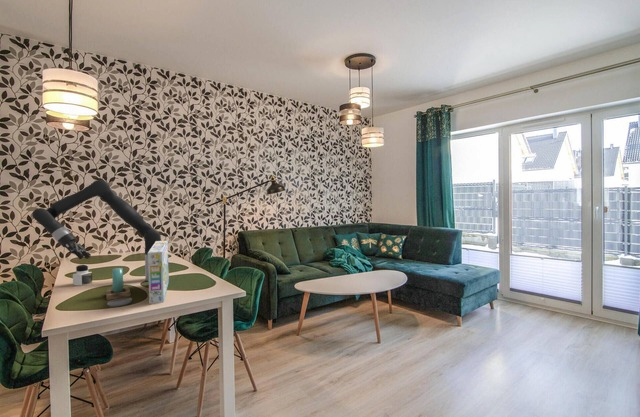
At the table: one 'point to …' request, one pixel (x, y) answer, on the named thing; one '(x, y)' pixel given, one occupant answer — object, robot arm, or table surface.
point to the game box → (158, 271)
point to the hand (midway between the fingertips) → (85, 257)
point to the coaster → (119, 302)
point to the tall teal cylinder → (117, 280)
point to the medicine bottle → (82, 276)
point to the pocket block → (118, 294)
